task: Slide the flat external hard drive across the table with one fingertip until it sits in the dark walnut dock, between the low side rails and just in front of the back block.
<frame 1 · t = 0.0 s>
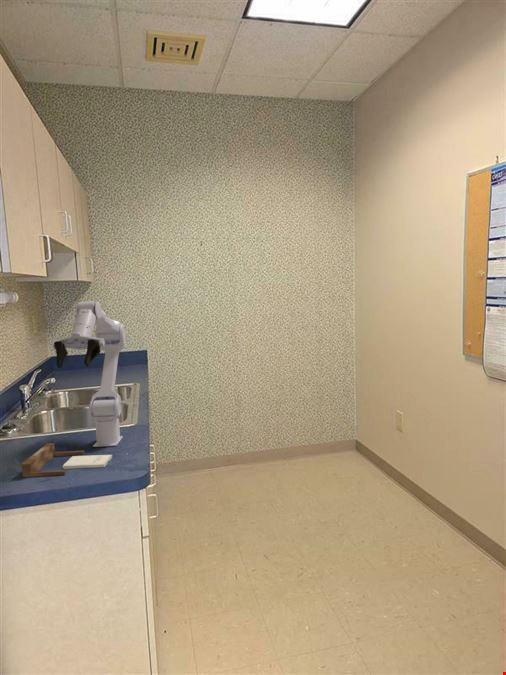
hand: (72, 365, 122), 32 cm above the countertop, tool tilted 50°, fingers open, 7 cm apart
dock: (68, 463, 134), on the countertop
external hard drive: (88, 465, 135), on the countertop
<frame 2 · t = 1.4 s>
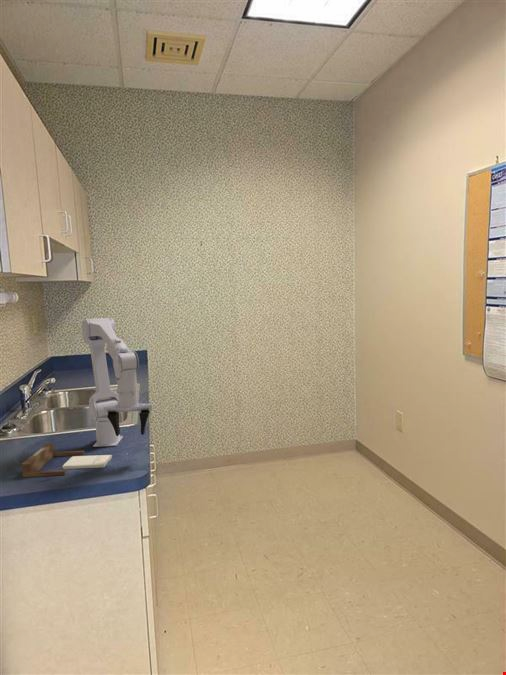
hand: (130, 434, 135), 8 cm above the countertop, tool pointing down, fingers open, 7 cm apart
nothing on the countertop moved.
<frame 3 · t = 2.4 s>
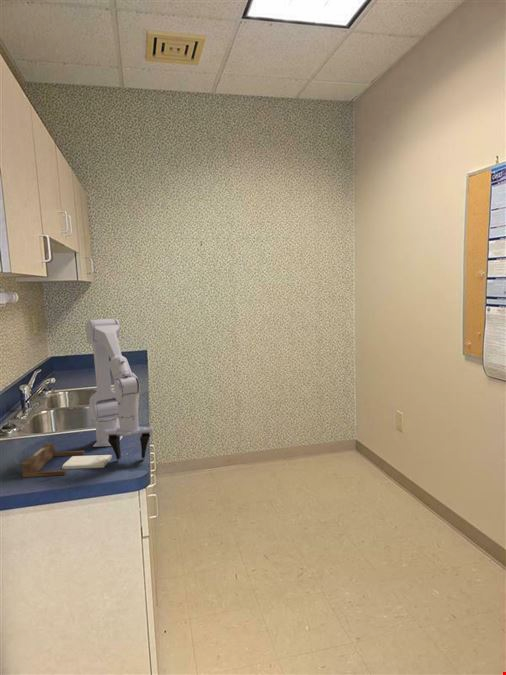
hand: (131, 457, 135), 1 cm above the countertop, tool pointing down, fingers open, 7 cm apart
nothing on the countertop moved.
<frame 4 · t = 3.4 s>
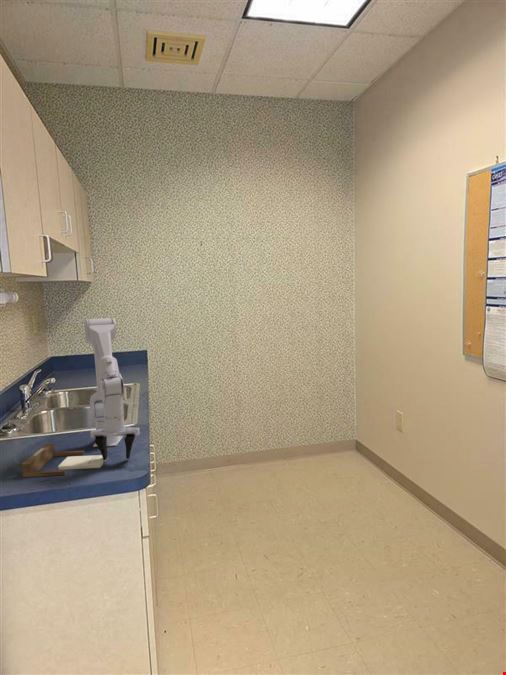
hand: (116, 458, 135), 1 cm above the countertop, tool pointing down, fingers open, 6 cm apart
external hard drive: (83, 465, 134), on the countertop, touching gripper
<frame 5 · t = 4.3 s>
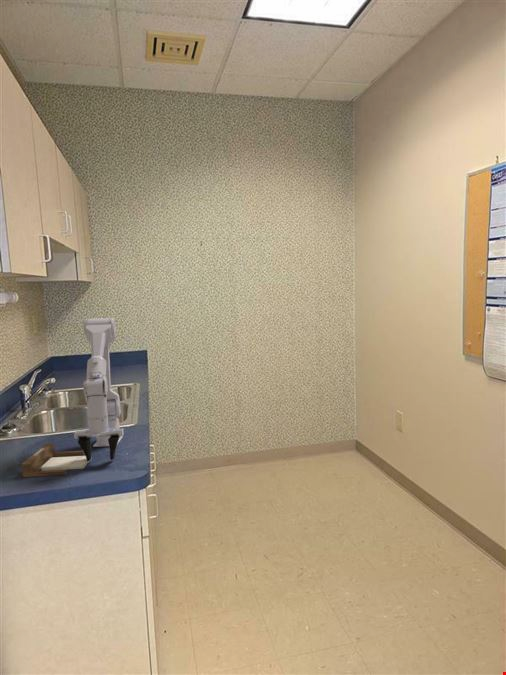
hand: (100, 459, 135), 1 cm above the countertop, tool pointing down, fingers open, 6 cm apart
external hard drive: (67, 466, 134), on the countertop, touching gripper
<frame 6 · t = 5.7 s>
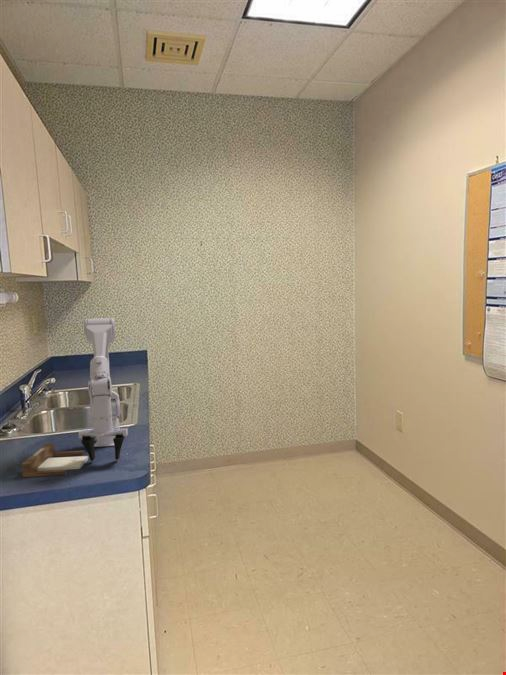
hand: (105, 459, 135), 1 cm above the countertop, tool pointing down, fingers open, 7 cm apart
external hard drive: (64, 466, 134), on the countertop
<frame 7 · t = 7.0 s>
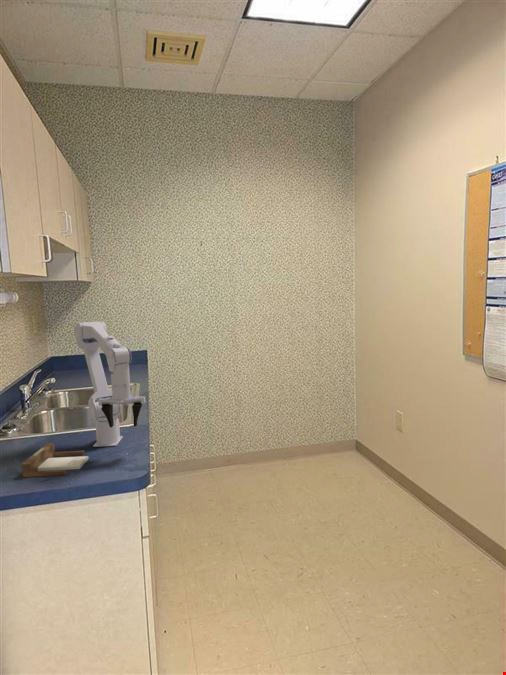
hand: (123, 426, 140), 9 cm above the countertop, tool pointing down, fingers open, 7 cm apart
nothing on the countertop moved.
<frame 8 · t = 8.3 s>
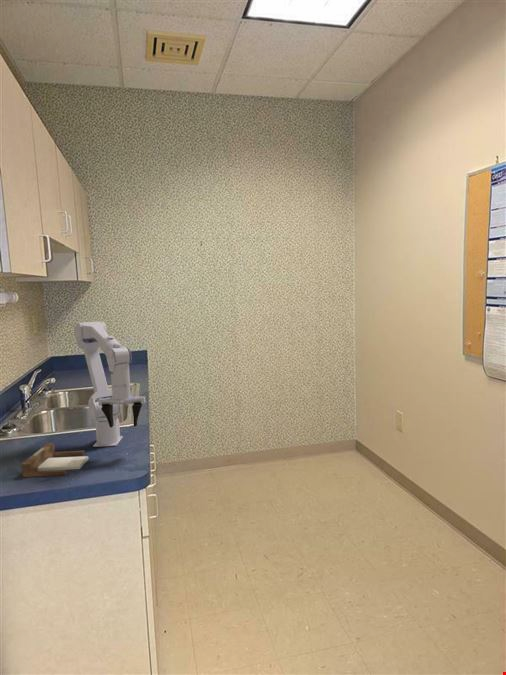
hand: (123, 426, 140), 9 cm above the countertop, tool pointing down, fingers open, 7 cm apart
nothing on the countertop moved.
at the end: external hard drive 0.5 cm from the target spot, on the countertop; external hard drive moved 7.3 cm from its start; external hard drive tilted 1° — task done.
